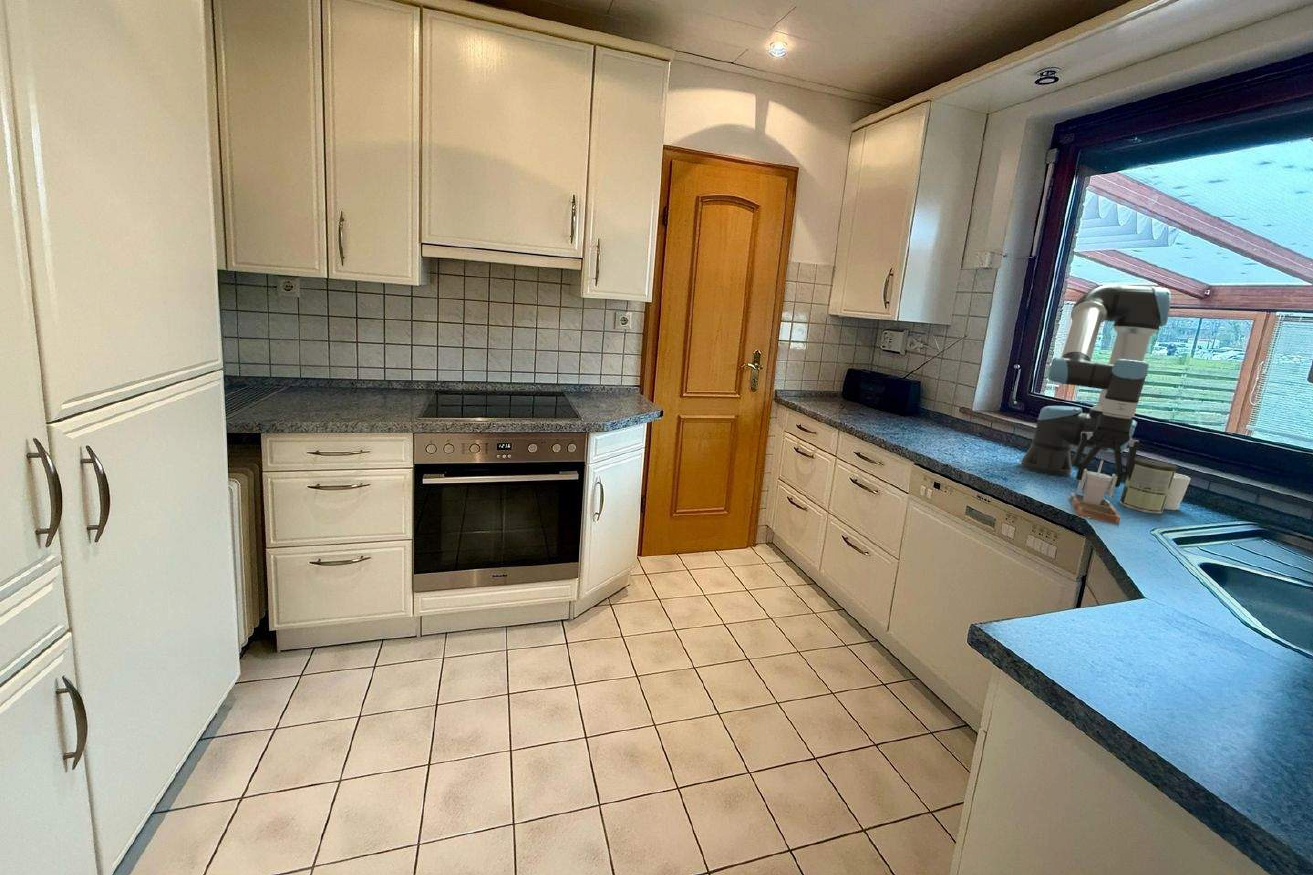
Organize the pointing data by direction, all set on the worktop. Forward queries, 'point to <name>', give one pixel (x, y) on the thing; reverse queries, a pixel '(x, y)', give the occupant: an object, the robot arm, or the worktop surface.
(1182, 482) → the white cup
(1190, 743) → the worktop surface
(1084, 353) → the robot arm
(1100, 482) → the smoothie
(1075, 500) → the dock rack
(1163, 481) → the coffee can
